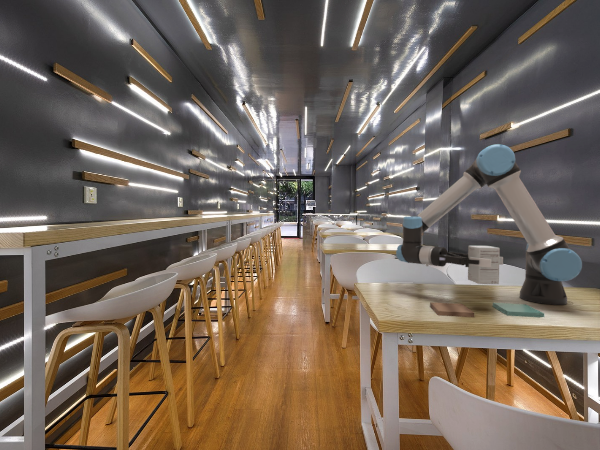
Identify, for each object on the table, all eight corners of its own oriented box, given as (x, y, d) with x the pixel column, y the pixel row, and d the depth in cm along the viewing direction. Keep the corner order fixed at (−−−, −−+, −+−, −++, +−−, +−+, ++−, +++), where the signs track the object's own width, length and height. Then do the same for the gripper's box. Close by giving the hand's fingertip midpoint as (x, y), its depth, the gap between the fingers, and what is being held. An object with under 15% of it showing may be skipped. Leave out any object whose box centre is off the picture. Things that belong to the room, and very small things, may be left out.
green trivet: (525, 309, 116) (525, 304, 116) (543, 319, 105) (544, 313, 105) (492, 307, 117) (492, 302, 117) (507, 317, 106) (507, 311, 106)
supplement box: (467, 280, 117) (467, 245, 117) (487, 280, 117) (488, 245, 116) (477, 284, 109) (478, 247, 109) (499, 284, 109) (500, 247, 109)
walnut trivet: (462, 309, 115) (462, 303, 115) (474, 318, 104) (474, 312, 104) (430, 307, 117) (430, 302, 117) (438, 317, 106) (438, 311, 106)
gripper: (447, 263, 134) (508, 269, 117) (418, 268, 120) (483, 276, 102) (448, 245, 134) (508, 249, 117) (419, 248, 119) (483, 253, 102)
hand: (496, 262), depth 109 cm, fingers closed on supplement box, 10 cm apart
